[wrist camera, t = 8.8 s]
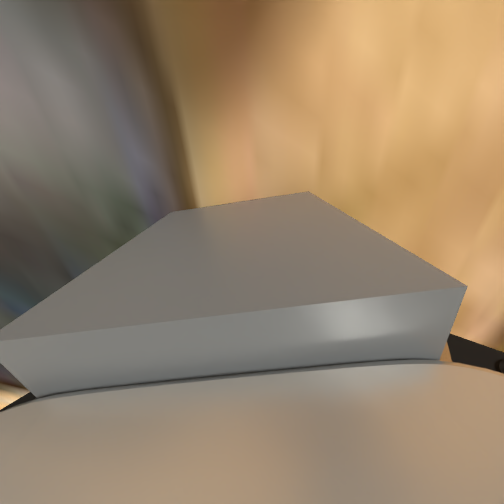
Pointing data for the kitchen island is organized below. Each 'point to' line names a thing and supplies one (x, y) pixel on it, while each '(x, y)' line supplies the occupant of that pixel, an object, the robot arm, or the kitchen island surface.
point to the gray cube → (235, 301)
